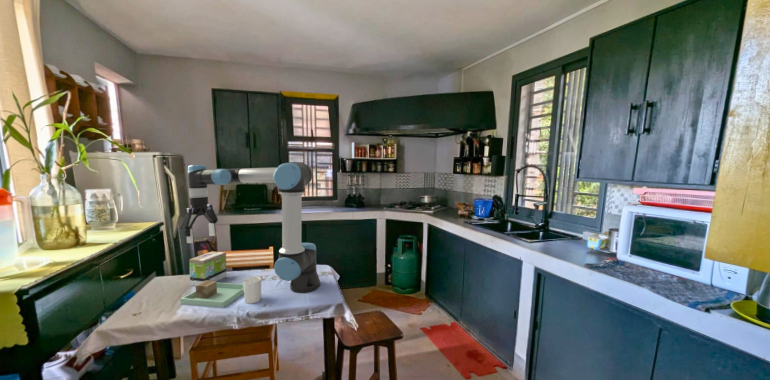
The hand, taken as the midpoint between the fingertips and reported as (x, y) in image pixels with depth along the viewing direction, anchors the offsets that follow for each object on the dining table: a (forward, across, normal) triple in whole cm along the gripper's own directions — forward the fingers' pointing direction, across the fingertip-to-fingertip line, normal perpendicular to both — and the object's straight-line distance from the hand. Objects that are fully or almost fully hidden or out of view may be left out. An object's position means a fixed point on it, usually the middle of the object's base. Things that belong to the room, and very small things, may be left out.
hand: (201, 239), depth 139 cm
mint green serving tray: (+27, +4, +10) cm, 29 cm away
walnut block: (+26, +4, +5) cm, 27 cm away
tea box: (+27, -12, -8) cm, 31 cm away
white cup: (+27, +4, +30) cm, 41 cm away
